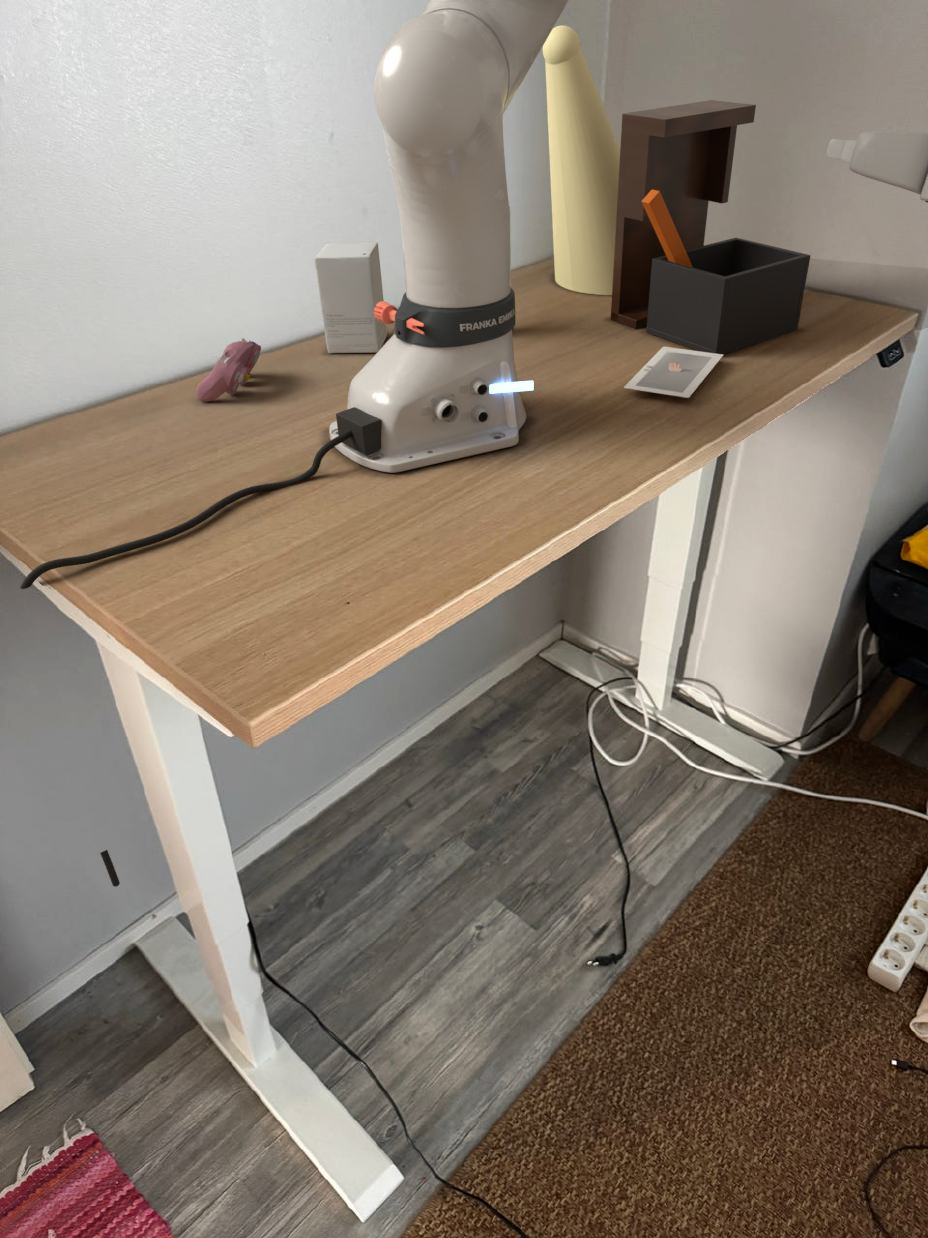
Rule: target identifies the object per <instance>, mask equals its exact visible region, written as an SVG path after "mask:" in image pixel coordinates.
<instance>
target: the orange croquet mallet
mask: <svg viewBox="0 0 928 1238" xmlns="http://www.w3.org/2000/svg"><path fill="white" fill-rule="evenodd" d="M642 204H643V206H644V208H645V210H646V212H647V215H648V217H649V219H650V221H651V223H652V226H653V228H654V230H655V232H656V234H657V236H658V239H659V241H660V243H661V245H662V247H663V250H664V252H665V254H666V256H667V258H668V261H671V262H674V263H678V264H681V265H685V266H689V267H692V264H691V262H690V260H689V257H688V255H687V253H686V250H685V248H684V246H683V244H682V241H681V239H680V237H679V234H678V232H677V230H676V227H675V225H674V223H673V221H672V218H671V216H670V214H669V211H668V209H667V207H666V204H665V202H664V200H663V198H662V195H661V193H660V191H657V190H651V191H650V192H649V193H648V194H647V196H646V197H645V198H644V199H643V200H642ZM692 268H693V267H692Z"/></svg>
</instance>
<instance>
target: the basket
mask: <svg viewBox="0 0 928 1238" xmlns="http://www.w3.org/2000/svg"><path fill="white" fill-rule="evenodd" d="M686 253H687V255H688V257H689V260H690V262H691V264H692V267H693V268H692V267H689V266H685V265H681V264H678V263H674V262H671V261H668V258H667V256H666V255H665V256H661V257H657V258H653V259H652V268H651V281H650V293H649V306H648V318H647V326H646V334H650V335H652V336H654V337H657V338H661V339H663V340H666V341H669V342H671V343H673V344H676V345H677V344H678V345H681V346H683V347H685V348H689V349H690V350H693V351H700V352H708V353H715V354H723V356H724V355H727V354H730V353H733V352H736V351H738V350H741V349H744V348H747V347H750V346H753V345H757V344H760V343H763V342H765V341H769V340H772V339H775V338H778V337H781V336H784V335H786V334H787V335H788V334H790V333H792V332H795V331H798V329H799V323H800V318H801V311H802V306H803V300H804V295H805V289H806V284H807V278H808V273H809V268H810V262H811V261H810V260H811V256H812V255H811V254H807V253H804V252H799V251H794V250H791V249H786V248H782V247H778V246H774V245H770V244H765V243H760V242H757V241H752V240H748V239H745V238H744V239H743V238H740V237H734V238H729V239H725V240H721V241H717V242H713V243H709V244H704V246H700V247H697V248H693V249H689V250H686Z"/></svg>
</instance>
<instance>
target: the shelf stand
mask: <svg viewBox="0 0 928 1238" xmlns="http://www.w3.org/2000/svg"><path fill="white" fill-rule="evenodd" d="M756 107H757V104H752V103H751V104H750V103H742V102H734V101H733V102H732V101H723V100H713V99H709V100H701V101H697V102H690V103H689V102H688V103H683V104H678V105H671V106H670V105H669V106H663V107H658V108H657V107H656V108H651V109H644V110H643V109H642V110H637V111H630V112H623V113H622V114H621V130H620V131H621V132H620V146H619V148H620V164H619V181H618V199H617V216H616V234H615V251H614V269H613V286H612V295H611V303H610V304H611V306H610V320H611V321H613V322H615V323H618V324H621V325H624V326H627V327H629V328H632V329H635V330H637V329H640V328H644V327H647V318H648V306H649V293H650V281H651V268H652V259H653V258H657V257H661V256H665V255H666V254H665V252H664V250H663V247H662V245H661V243H660V241H659V239H658V236H657V234H656V232H655V230H654V228H653V226H652V223H651V221H650V219H649V217H648V215H647V212H646V210H645V208H644V206H643V204H642V200H643V199H644V198H645V197H646V196H647V194H648V193H649V192H650V191H651V190H657V191H660V193H661V195H662V198H663V200H664V202H665V204H666V207H667V209H668V211H669V214H670V216H671V218H672V221H673V223H674V225H675V227H676V230H677V232H678V234H679V237H680V239H681V241H682V244H683V246H684V248H685V250H689V249H693V248H697V247H700V246H704V245H705V237H706V227H707V219H708V211H709V202H712V203H716V204H726V203H728V202H729V196H730V188H731V180H732V170H733V163H734V156H735V155H734V154H735V148H736V147H735V146H736V137H737V130H738V126H741V125H746V124H747V125H748V124H752V123H754V122H755V115H756Z"/></svg>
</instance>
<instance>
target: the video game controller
mask: <svg viewBox="0 0 928 1238" xmlns="http://www.w3.org/2000/svg"><path fill="white" fill-rule="evenodd" d="M261 351H262V346H261V345H259V344H258V343H256V342H254V341H253V340H252V341H251V340H246V339H245V338H244V337H243V338H241V340H239V341H238V340H237V341H234V342H231V343H229V344H227V346H226V347H225V348H224V350H223V353H222V355H221V356H220V357H219V358H218V360H217V362H216V363H215V364H214V366H213V368H212V370H211V371H210V372H209V373H208V375H207V376H206V377H204V378H203V379H202V380H201V381H199V383H198V385H197V387H196V388H195V395H196V397H197V399H198V400H199V401H201V402H204V403H207V402H211V401H215V400H216V399H218V398H220V397H221V396H222V395H223V394H224V393H227V394H229V395H231V396H233V395H235V393H236V392H237V390H238V388H239V386H240V385H241V386H244V385H245V384H246V383H247V382H248V381H249V380H250V378H251V376H250V374H251V373H252V370H253V369H254V367H255V366H256V364H257V362H258V360H259V358H260V355H261Z"/></svg>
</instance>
